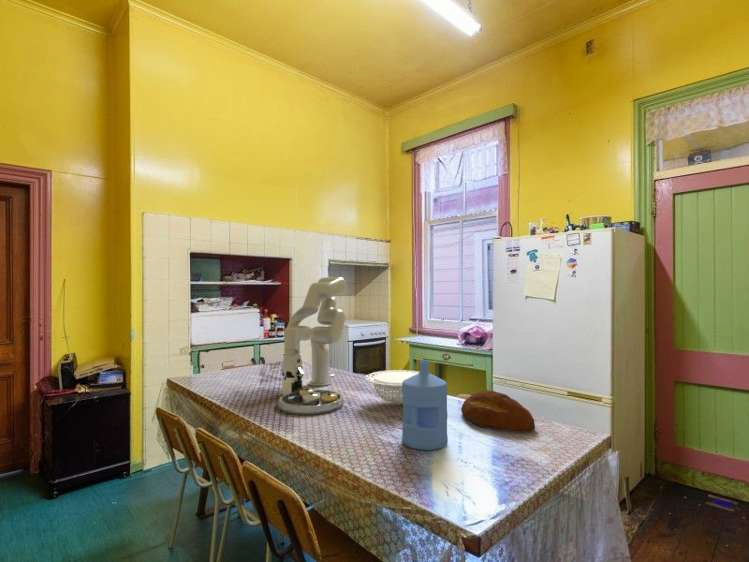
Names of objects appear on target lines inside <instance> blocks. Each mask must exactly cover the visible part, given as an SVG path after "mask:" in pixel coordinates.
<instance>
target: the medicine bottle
mask: <svg viewBox="0 0 749 562" xmlns="http://www.w3.org/2000/svg"><path fill="white" fill-rule="evenodd" d="M297 374H298V373H297ZM297 378H298V376H297ZM295 381H296V380H295V377H294V376H293V375H292V373H291V372H290V371H286V380H284V379H282V381H281V382H282V383H281V384H282V385H281V386H282V387H281V388H282V389H281V395H282V396H283V395H285V394H288V393H291V392H295V391H300V389H303V379H301V380H300V388H299V389H295Z"/></svg>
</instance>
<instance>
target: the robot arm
mask: <svg viewBox="0 0 749 562" xmlns="http://www.w3.org/2000/svg"><path fill="white" fill-rule="evenodd" d="M346 287H347V283H346V280H345V279H344V278H343V277H339V276H336V277H335V276H334V277H332V276H331V277H328V276H327V277H321V278H319V279H318V281H317V282H314V283H312V284H311V285H310V286H309V288H308V290H307V294H306V297H305V299H304V302H303V304H302V306H301V307H300V308H299V309H298V310H296V311H295V313H293V315H291V318H289V321H288V324H287V326H286V328H285V329H284V332H283V333H284V340H283V341H284V346H283V347H284V349H283V350H284V351H283V352H284V354H283V359H282V360H283V361H282V368H281V369H280V373H281V375H282V380H286V371H290V372H291V373H292V375H293V376H294V377H295V380H296V381H295V389H299V388H300V380H303V377H304V376H305V373H304V370H303V360H302V356H301V351H300V350H301V349H300V346H301V343H300V342H304V341H305V342H306V341H310V346H311V380H309V382H308V385H309V386H314V387H325V386H329V385H332V383H333V381H332V380H331V379H334V378H335V373H333V374H330V351H329V350H330V349H329V347H328V346H327V345H333V346H334V345H337V344H339V342H340V340H341V337H342V333H343V330H344V326H345V321H346V314H345V312H344V311H343V310H342V309H341V308H336V306H337V299H336V296H338V295H339V294H341V293H343V292H344V291H345V290H346ZM316 313H318V314H317V317H316V318H317V320H316V321H317V323H318V324H319V325H321V326H318V325H316V326H314V327H311V326H307V325H300V324H301V323H302V321H304V320H305V319H306V318H309V317H310V316H311V317H312V316H313V315H315V314H316ZM297 373H298V374H297ZM297 376H298V378H297Z"/></svg>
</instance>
